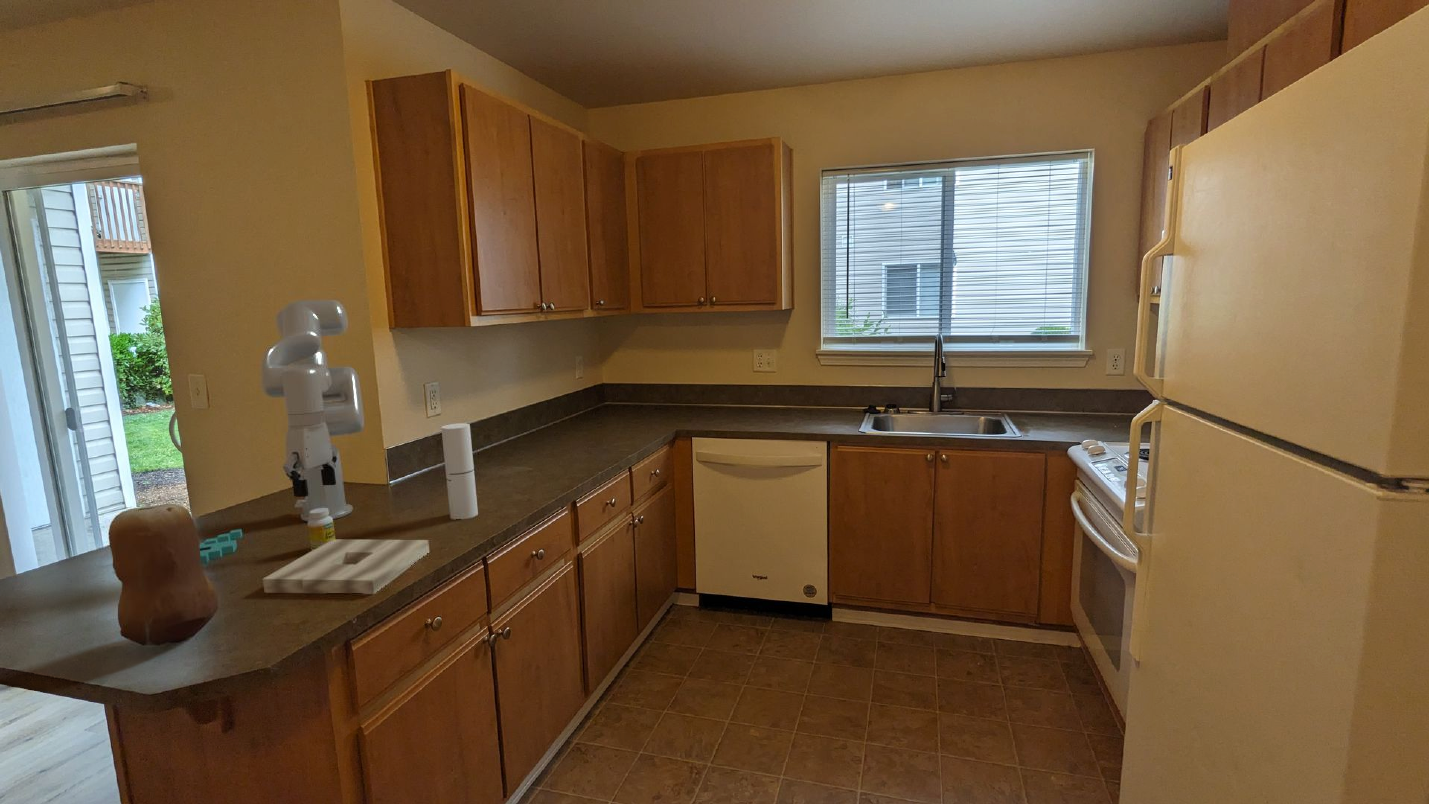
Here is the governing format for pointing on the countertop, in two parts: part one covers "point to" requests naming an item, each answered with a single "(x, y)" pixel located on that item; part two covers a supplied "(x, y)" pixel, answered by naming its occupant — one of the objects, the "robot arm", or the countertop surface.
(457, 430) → the cylindrical container
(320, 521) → the supplement bottle
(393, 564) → the socket board
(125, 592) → the butternut squash
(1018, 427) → the countertop surface
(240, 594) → the countertop surface
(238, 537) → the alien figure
